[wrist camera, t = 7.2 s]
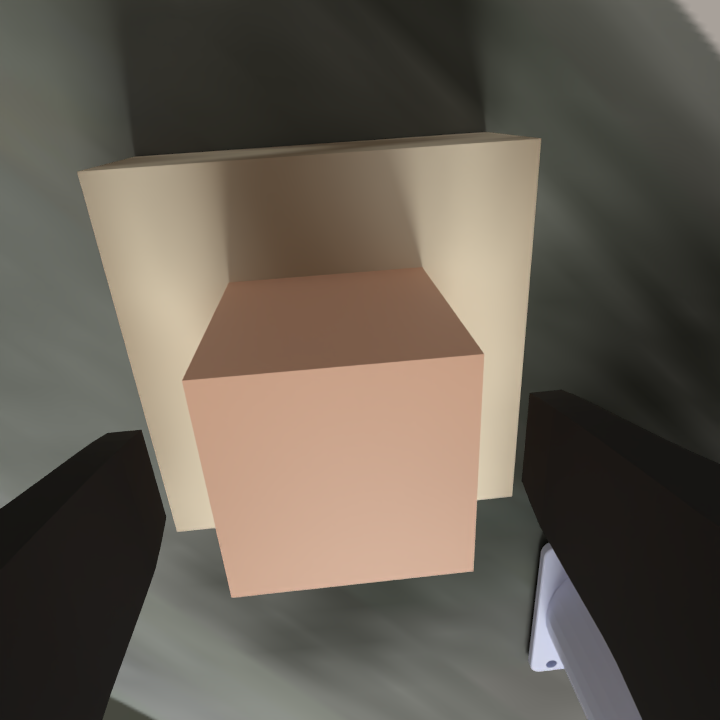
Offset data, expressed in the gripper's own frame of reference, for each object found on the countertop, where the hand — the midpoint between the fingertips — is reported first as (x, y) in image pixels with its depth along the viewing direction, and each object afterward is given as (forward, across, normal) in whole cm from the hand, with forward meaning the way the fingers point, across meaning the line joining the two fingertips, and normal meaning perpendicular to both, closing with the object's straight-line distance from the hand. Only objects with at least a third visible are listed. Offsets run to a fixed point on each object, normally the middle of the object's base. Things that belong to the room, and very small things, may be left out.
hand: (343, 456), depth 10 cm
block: (+4, 0, 0) cm, 4 cm away
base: (+8, 0, 0) cm, 8 cm away
